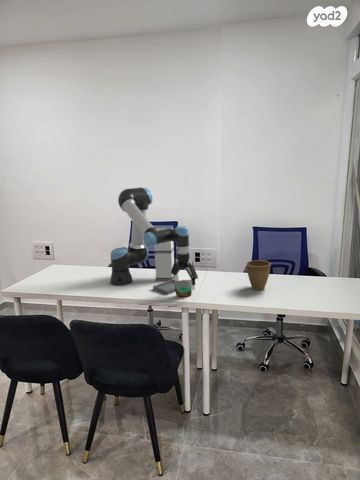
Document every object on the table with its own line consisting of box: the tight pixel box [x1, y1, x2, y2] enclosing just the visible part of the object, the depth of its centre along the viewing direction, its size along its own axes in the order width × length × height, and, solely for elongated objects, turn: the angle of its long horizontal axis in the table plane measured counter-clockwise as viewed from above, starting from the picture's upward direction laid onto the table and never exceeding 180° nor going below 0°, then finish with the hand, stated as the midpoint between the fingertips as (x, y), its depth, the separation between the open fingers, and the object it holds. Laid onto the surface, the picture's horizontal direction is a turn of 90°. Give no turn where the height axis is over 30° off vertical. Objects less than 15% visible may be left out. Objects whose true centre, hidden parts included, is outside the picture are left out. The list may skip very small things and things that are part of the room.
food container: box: [173, 279, 193, 299], centre depth 204 cm, size 12×6×10 cm, turn 101°
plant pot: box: [245, 260, 272, 291], centre depth 213 cm, size 15×15×16 cm
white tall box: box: [153, 227, 175, 282], centre depth 237 cm, size 11×11×35 cm
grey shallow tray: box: [152, 279, 176, 296], centre depth 220 cm, size 14×18×2 cm
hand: (184, 287), depth 204 cm, fingers open, 13 cm apart
